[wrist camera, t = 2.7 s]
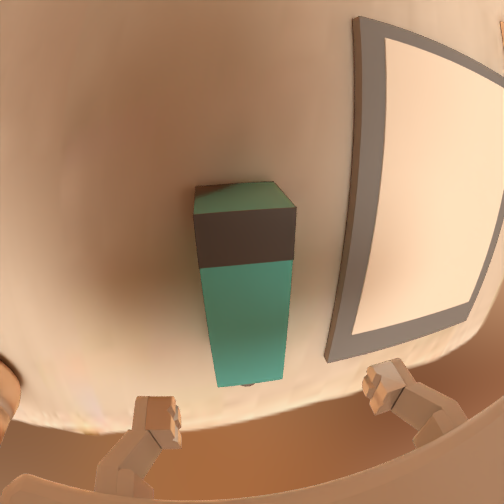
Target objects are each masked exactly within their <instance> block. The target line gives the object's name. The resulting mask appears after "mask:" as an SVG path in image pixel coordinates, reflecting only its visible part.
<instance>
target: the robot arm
mask: <svg viewBox="0 0 504 504" xmlns="http://www.w3.org/2000/svg"><path fill="white" fill-rule="evenodd" d="M366 372H367V375H366V376H365V377H364V379H363V382H362V388H363V392H364V394H365V396H366V397H367V398H369V399H370V406H371V408H372V411H373V412H374V414H375V415H378V414H381V413H384V412H387V411H390V410H391V412H393V413H394V414H396V415H397V416H399V417H400V418H401V419H403V420H404V421H405V422H407V423H408V424H410V425H411V426H412V427H414V428H415V429H417V430H418V431H419V432H418V433H417V434H416V436H415V437H414V438H413V443H414V445H415V447H416V449H415V450H413V451H411V452H409V453H407V454H404V455H402V456H400V457H398V458H395V459H393V460H390V461H388V462H386V463H383V464H380V465H378V466H376V467H373V468H370V469H368V470H364V471H362V472H359V473H356V474H353V475H349V476H346V477H344V478H340V479H337V480H333V481H330V482H326V483H322V484H318V485H314V486H310V487H305V488H301V489H297V490H292V491H287V492H281V493H275V494H269V495H263V496H255V497H247V498H237V499H226V500H225V499H224V500H206V501H205V500H203V501H174V500H154V489H153V488H152V487H151V486H149V485H148V484H147V483H146V482H145V481H144V480H143V478H144V477H145V475H146V474H147V472H148V471H149V469H150V468H151V466H152V465H153V463H154V462H155V460H156V459H157V457H158V455H159V454H160V453H161V451H162V449H181V434H180V432H179V429H180V428H181V414H180V410H179V407H178V406H177V405H176V400H175V398H174V396H137V398H136V401H135V408H134V416H133V424H132V430H128V431H127V432H126V433H125V434H124V435H123V437H122V438H121V439H120V440H119V441H118V442H117V443H116V445H115V446H114V447H113V448H112V449H111V450H110V451H109V452H108V453H107V455H106V456H105V457H104V458H103V459H102V460H101V461H100V462H99V463H98V465H97V472H96V482H95V490H94V492H93V491H88V490H84V489H79V488H75V487H71V486H67V485H63V484H59V483H56V482H52V481H49V480H46V479H43V478H40V477H37V476H34V475H31V474H22V475H20V476H18V477H17V478H16V479H15V480H14V481H12V482H11V483H10V484H9V485H8V486H6V487H5V488H4V489H3V491H2V493H1V496H0V504H504V396H502V397H501V398H500V399H498V400H497V401H496V402H494V403H493V404H491V405H490V406H489V407H487V408H486V409H484V410H483V411H481V412H480V413H479V414H477V415H475V416H474V417H472V418H471V419H469V420H468V418H467V417H466V415H465V414H464V412H463V411H462V409H461V408H460V406H459V404H458V403H457V401H455V400H453V399H451V398H449V397H447V396H445V395H443V394H441V393H439V392H437V391H435V390H434V389H432V388H430V387H428V386H426V385H424V384H422V383H420V382H417V383H416V381H415V380H414V378H413V377H412V375H411V374H410V372H409V371H408V369H407V368H406V366H405V365H404V363H403V362H402V360H401V359H400V358H395V359H392V360H389V361H385V362H382V363H378V364H375V365H372V366H369V367H368V368H367V371H366Z"/></svg>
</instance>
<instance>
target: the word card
mask: <svg viewBox="0 0 504 504" xmlns="http://www.w3.org/2000/svg"><path fill="white" fill-rule="evenodd" d="M500 24H501V30H502V37H503V46H504V22H500Z"/></svg>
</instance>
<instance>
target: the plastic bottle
mask: <svg viewBox="0 0 504 504" xmlns="http://www.w3.org/2000/svg"><path fill="white" fill-rule="evenodd" d="M20 396H21V389H20V384H19V381H18V379H17V377H16V376H15V374H14V373H13V372H12V371H11V369H10V368H8V367H7V366H6V365H5V364H4V363H3V362H2V361H0V446H1V443H2V440H3V437H4V435H5V432H6V429H7V427H8V424H9V422H10V420H11V419H12V418H13V416H14V414H15V412H16V410H17V408H18V406H19V403H20Z"/></svg>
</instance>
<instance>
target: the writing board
mask: <svg viewBox="0 0 504 504" xmlns="http://www.w3.org/2000/svg"><path fill="white" fill-rule="evenodd" d="M352 20H353V36H354V61H355V116H354V142H353V160H352V174H351V186H350V197H349V207H348V216H347V225H346V233H345V241H344V249H343V256H342V263H341V269H340V276H339V282H338V288H337V294H336V300H335V305H334V310H333V316H332V321H331V326H330V331H329V336H328V341H327V345H326V350H325V354H324V357H325V360H326V362H327V363H331V362H335V361H339V360H344V359H348V358H352V357H356V356H360V355H364V354H367V353H371V352H375V351H378V350H382V349H385V348H389V347H392V346H395V345H399V344H402V343H405V342H408V341H411V340H414V339H417V338H420V337H423V336H426V335H429V334H432V333H435V332H438V331H440V330H443V329H446V328H448V327H451V326H454V325H456V324H459V323H461V322H464V321H466V320H467V317H468V315H469V313H470V311H471V309H472V307H473V304H474V302H475V300H476V298H477V295H478V293H479V290H480V288H481V286H482V283H483V281H484V278H485V275H486V273H487V270H488V267H489V264H490V262H491V259H492V256H493V253H494V250H495V247H496V243H497V240H498V237H499V233H500V230H501V226H502V223H503V219H504V77H503V76H501V75H499V74H498V73H496V72H495V71H493V70H491V69H489V68H488V67H486V66H484V65H483V64H481V63H479V62H477V61H475V60H473V59H472V58H470V57H468V56H466V55H464V54H462V53H460V52H458V51H456V50H454V49H452V48H449V47H447V46H445V45H443V44H441V43H438V42H436V41H434V40H431V39H429V38H426V37H424V36H421V35H419V34H416V33H413V32H411V31H408V30H405V29H402V28H399V27H396V26H393V25H390V24H387V23H383V22H380V21H377V20H373V19H369V18H366V17H362V16H358V17H356V18H354V19H352Z"/></svg>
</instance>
